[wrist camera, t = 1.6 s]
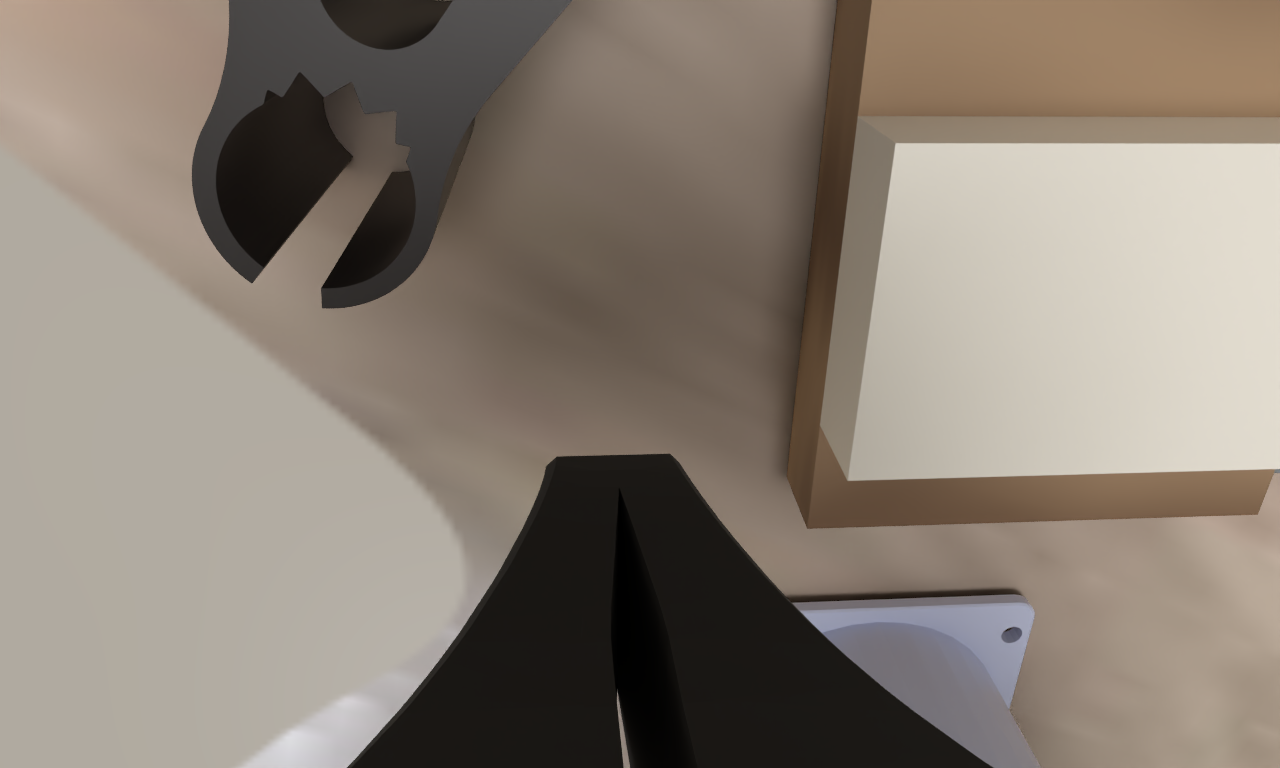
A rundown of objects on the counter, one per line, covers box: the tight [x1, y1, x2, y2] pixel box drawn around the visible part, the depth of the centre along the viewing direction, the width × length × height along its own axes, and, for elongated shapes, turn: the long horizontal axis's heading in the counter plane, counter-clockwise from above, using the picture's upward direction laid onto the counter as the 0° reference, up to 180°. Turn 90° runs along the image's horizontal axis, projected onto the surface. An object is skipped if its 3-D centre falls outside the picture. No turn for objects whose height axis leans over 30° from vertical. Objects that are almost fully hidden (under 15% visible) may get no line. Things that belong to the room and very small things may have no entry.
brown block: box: [787, 0, 1280, 529], centre depth 18 cm, size 11×10×2 cm
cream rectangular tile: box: [820, 116, 1280, 481], centre depth 17 cm, size 6×9×2 cm, turn 89°
